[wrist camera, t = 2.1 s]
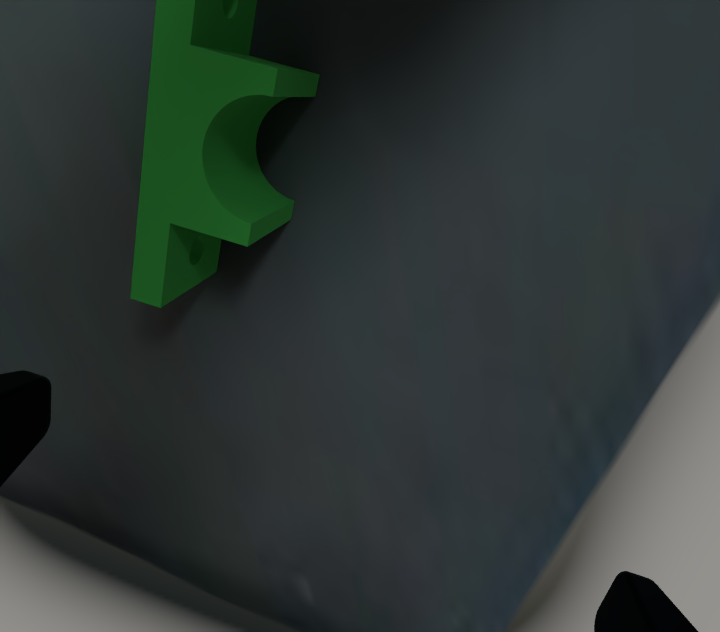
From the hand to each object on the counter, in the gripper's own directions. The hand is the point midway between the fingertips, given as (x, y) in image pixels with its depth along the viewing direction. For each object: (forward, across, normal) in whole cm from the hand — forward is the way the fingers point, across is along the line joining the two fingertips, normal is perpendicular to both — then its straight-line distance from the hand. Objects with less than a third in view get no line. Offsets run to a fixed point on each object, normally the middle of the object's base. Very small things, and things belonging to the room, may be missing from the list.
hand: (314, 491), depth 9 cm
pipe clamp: (+13, +6, -3) cm, 14 cm away
